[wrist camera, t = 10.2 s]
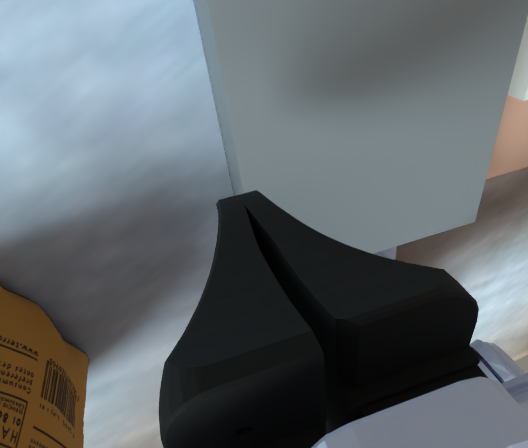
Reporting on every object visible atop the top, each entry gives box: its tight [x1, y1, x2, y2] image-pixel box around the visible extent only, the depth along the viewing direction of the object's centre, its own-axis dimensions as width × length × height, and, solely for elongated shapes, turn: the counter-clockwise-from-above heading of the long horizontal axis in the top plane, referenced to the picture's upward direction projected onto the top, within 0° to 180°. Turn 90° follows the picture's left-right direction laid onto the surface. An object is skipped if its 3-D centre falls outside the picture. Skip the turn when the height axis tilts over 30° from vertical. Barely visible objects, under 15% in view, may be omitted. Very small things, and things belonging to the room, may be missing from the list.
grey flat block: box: [194, 0, 528, 254], centre depth 18 cm, size 22×14×4 cm, turn 8°
